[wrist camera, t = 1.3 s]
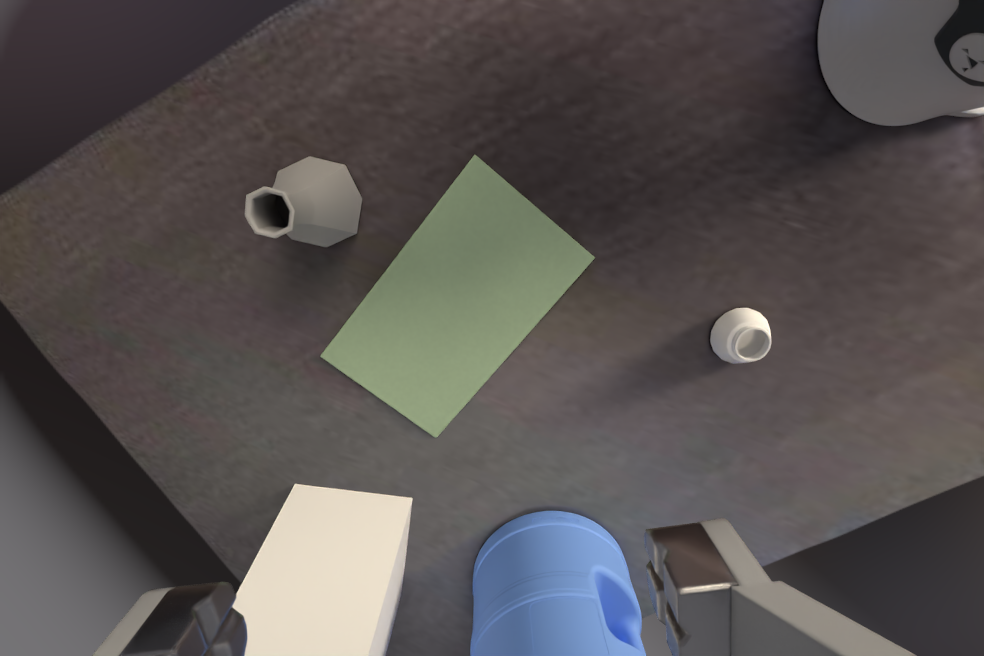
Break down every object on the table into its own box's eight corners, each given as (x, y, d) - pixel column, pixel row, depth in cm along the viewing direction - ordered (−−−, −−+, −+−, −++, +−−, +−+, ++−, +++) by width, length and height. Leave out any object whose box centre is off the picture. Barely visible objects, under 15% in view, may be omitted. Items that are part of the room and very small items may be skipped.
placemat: (474, 154, 41) (474, 154, 40) (594, 257, 43) (595, 257, 43) (321, 354, 45) (319, 356, 45) (436, 436, 48) (435, 438, 48)
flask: (355, 152, 40) (314, 146, 31) (370, 243, 43) (336, 264, 33) (265, 160, 41) (197, 157, 31) (284, 250, 43) (226, 274, 33)
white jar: (747, 367, 46) (775, 317, 45) (764, 380, 43) (794, 327, 42) (698, 349, 46) (724, 298, 44) (712, 361, 43) (741, 307, 41)
